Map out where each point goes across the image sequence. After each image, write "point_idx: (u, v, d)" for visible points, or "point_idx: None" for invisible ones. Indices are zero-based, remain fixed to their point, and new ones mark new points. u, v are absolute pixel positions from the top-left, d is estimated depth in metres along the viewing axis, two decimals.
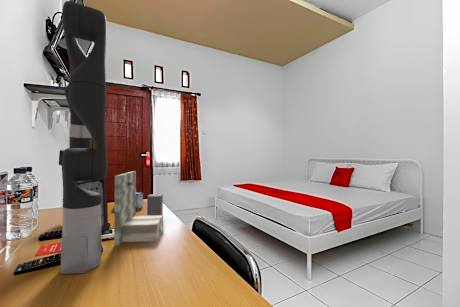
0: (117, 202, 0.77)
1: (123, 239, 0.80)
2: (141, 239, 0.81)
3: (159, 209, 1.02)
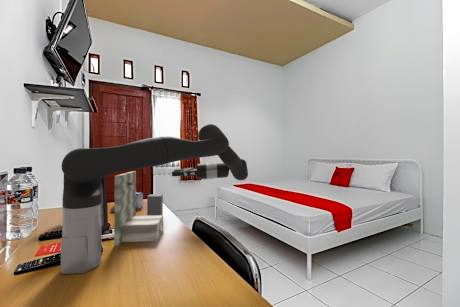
0: (117, 202, 0.77)
1: (123, 239, 0.80)
2: (141, 239, 0.81)
3: (159, 209, 1.02)
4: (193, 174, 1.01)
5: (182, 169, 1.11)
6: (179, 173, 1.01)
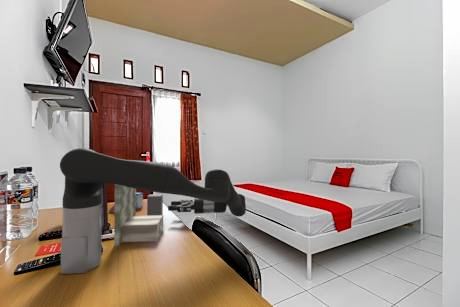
0: (117, 202, 0.77)
1: (123, 239, 0.80)
2: (141, 239, 0.81)
3: (159, 209, 1.02)
4: (189, 210, 0.99)
5: (179, 201, 1.09)
6: (175, 208, 1.00)
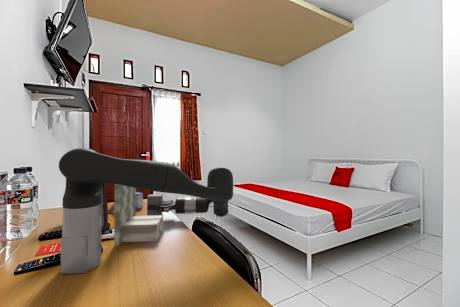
0: (117, 202, 0.77)
1: (123, 239, 0.80)
2: (141, 239, 0.81)
3: None
4: (166, 210, 0.98)
5: None
6: (154, 207, 1.01)
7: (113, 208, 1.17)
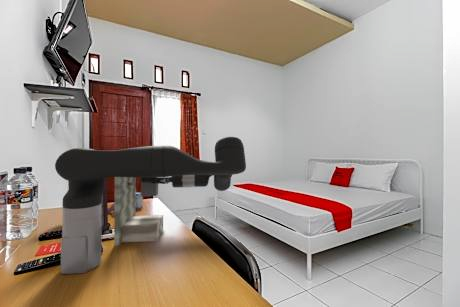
0: (117, 202, 0.77)
1: (123, 239, 0.80)
2: (141, 239, 0.81)
3: None
4: (163, 181, 0.89)
5: None
6: (149, 179, 0.92)
7: (112, 208, 1.17)
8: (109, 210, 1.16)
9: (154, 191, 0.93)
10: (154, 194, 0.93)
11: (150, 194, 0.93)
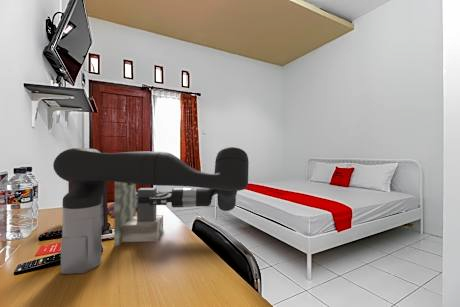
0: (117, 202, 0.77)
1: (123, 239, 0.80)
2: (141, 239, 0.81)
3: (152, 205, 0.84)
4: (164, 202, 0.80)
5: None
6: (147, 200, 0.81)
7: (110, 209, 1.16)
8: (108, 210, 1.15)
9: (151, 216, 0.84)
10: (151, 219, 0.84)
11: (147, 219, 0.84)
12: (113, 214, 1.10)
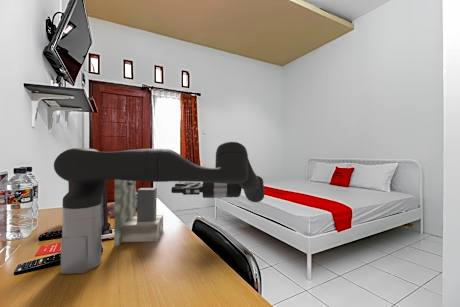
0: (117, 202, 0.77)
1: (123, 239, 0.80)
2: (141, 239, 0.81)
3: (152, 205, 0.84)
4: (197, 192, 0.82)
5: (185, 183, 0.92)
6: (180, 190, 0.83)
7: (109, 209, 1.15)
8: None
9: (151, 216, 0.84)
10: (151, 219, 0.84)
11: (147, 219, 0.84)
12: (112, 214, 1.09)
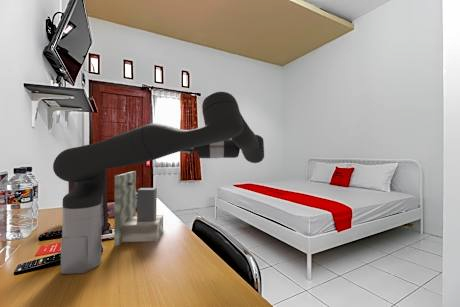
0: (117, 202, 0.77)
1: (123, 239, 0.80)
2: (141, 239, 0.81)
3: (152, 205, 0.84)
4: (192, 149, 0.75)
5: None
6: None
7: (108, 209, 1.15)
8: None
9: (151, 216, 0.84)
10: (151, 219, 0.84)
11: (147, 219, 0.84)
12: (111, 215, 1.09)
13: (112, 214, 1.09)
